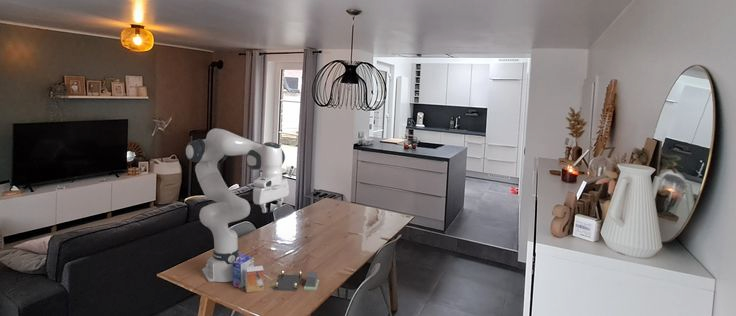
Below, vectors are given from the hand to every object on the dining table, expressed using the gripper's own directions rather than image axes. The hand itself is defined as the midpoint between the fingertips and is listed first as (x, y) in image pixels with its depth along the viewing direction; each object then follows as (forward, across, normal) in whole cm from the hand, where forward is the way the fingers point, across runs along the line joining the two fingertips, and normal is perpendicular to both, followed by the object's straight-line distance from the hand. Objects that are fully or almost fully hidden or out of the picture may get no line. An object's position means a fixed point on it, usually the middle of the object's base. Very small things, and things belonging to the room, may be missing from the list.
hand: (271, 209), depth 185 cm
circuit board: (+42, -19, +9) cm, 47 cm away
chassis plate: (+41, -14, -2) cm, 44 cm away
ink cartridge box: (+41, -3, -20) cm, 46 cm away
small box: (+41, -1, -11) cm, 43 cm away
